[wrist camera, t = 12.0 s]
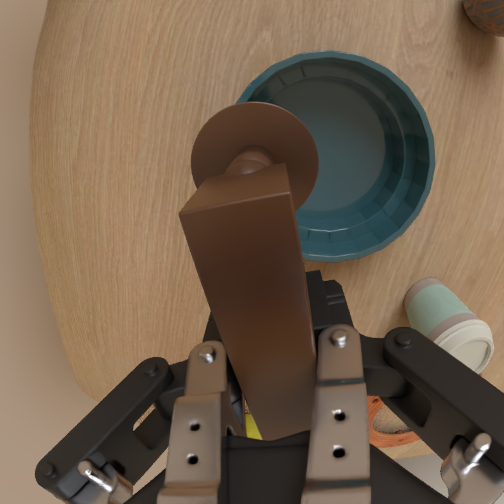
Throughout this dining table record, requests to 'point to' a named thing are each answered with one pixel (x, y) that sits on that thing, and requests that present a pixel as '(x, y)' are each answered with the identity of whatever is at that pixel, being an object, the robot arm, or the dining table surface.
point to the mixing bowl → (353, 150)
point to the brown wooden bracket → (257, 255)
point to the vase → (486, 15)
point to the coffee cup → (449, 323)
